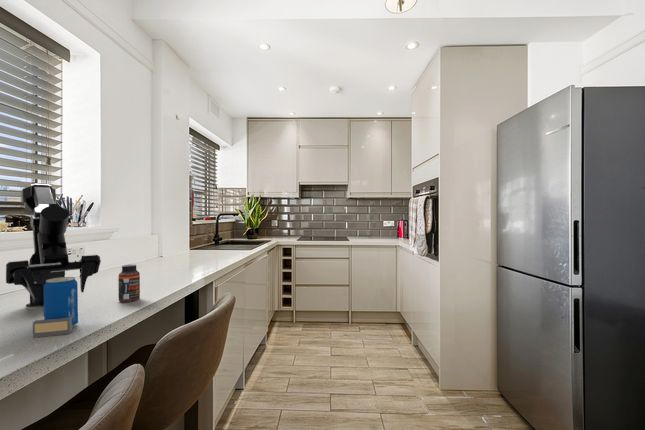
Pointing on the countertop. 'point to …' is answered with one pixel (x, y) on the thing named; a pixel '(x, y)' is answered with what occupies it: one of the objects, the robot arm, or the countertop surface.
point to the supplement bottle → (129, 284)
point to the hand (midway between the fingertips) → (60, 295)
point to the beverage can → (61, 299)
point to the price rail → (52, 327)
